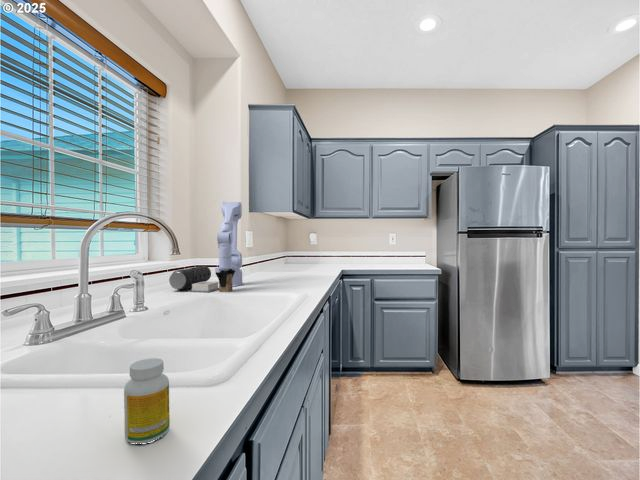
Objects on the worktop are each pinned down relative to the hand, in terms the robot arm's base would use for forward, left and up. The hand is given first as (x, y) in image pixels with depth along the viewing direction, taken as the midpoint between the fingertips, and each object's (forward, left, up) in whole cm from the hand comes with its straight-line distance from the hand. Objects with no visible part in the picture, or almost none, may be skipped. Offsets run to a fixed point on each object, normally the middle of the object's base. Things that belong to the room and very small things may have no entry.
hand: (225, 286), depth 161 cm
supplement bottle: (+106, +50, -3) cm, 117 cm away
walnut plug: (0, 0, -2) cm, 2 cm away
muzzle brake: (-7, -24, -3) cm, 25 cm away
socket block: (0, -11, -2) cm, 11 cm away
